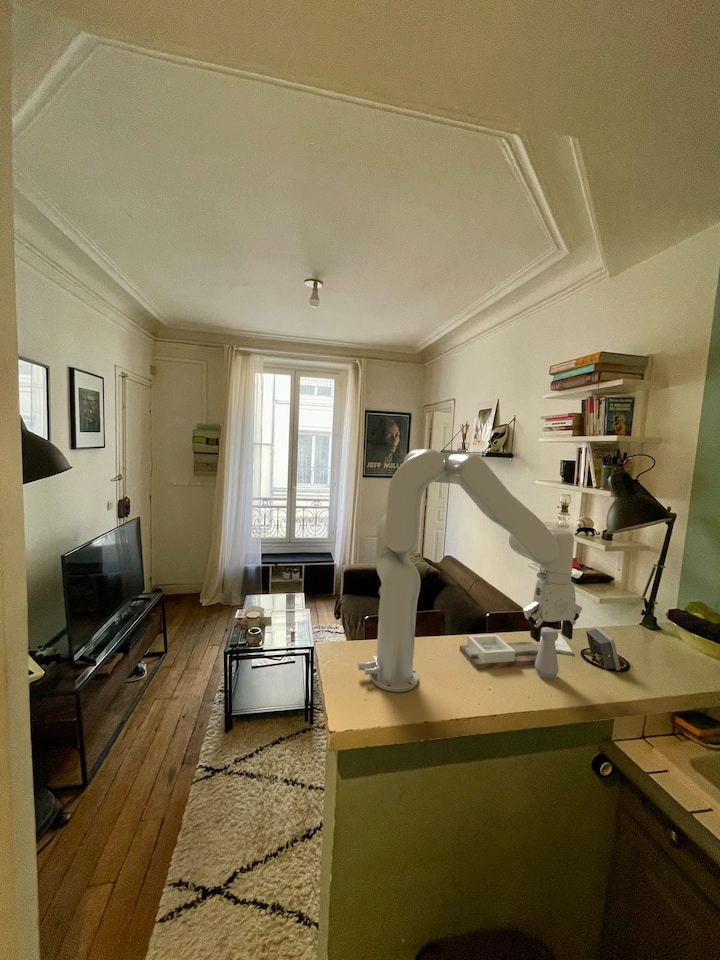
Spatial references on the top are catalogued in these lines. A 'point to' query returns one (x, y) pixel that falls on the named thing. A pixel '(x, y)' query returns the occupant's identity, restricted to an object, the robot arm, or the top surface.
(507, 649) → the white square tray
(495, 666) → the rail board
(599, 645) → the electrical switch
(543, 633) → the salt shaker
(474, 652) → the rail
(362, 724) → the top surface
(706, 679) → the top surface
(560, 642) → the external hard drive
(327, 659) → the top surface
